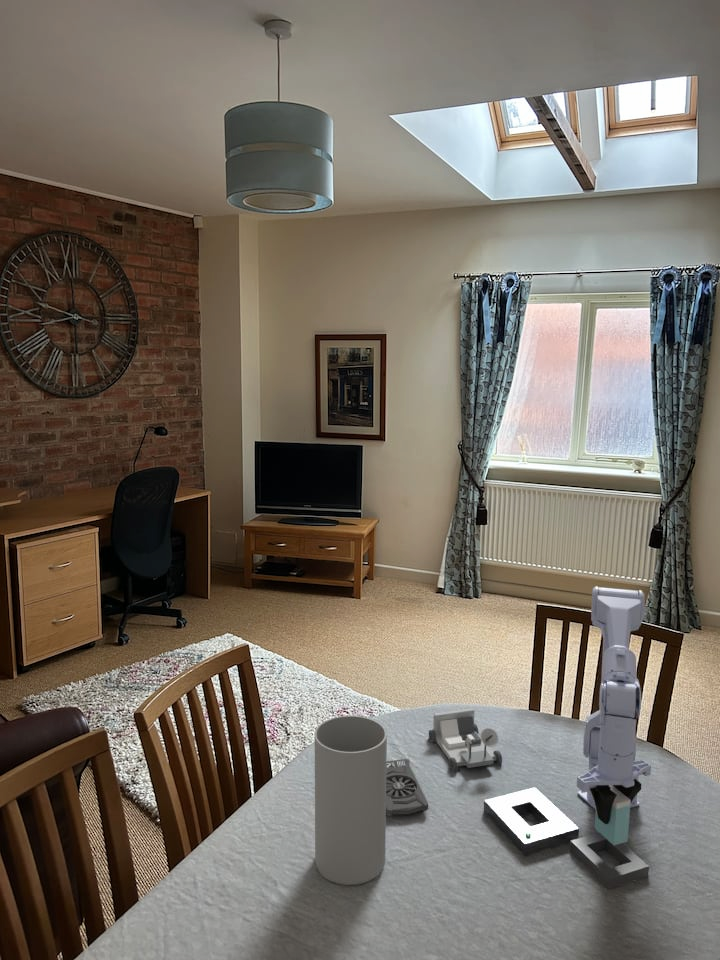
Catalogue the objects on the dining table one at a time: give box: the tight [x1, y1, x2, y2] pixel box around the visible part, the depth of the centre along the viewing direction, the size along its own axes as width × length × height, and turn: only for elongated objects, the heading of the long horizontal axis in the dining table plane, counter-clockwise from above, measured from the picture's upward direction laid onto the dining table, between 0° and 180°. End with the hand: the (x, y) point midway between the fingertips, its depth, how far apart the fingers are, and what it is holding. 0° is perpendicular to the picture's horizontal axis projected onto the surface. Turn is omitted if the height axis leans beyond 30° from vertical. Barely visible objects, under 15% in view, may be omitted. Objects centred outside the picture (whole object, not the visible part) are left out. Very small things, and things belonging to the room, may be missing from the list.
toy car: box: [428, 707, 503, 773], centre depth 164 cm, size 18×10×12 cm
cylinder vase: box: [314, 715, 388, 886], centre depth 128 cm, size 12×12×25 cm
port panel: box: [483, 787, 580, 857], centre depth 140 cm, size 12×14×3 cm
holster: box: [569, 832, 650, 890], centre depth 130 cm, size 8×10×2 cm
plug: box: [594, 785, 631, 845], centre depth 128 cm, size 3×5×8 cm, turn 22°
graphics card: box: [386, 757, 429, 817], centre depth 150 cm, size 17×4×12 cm
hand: (611, 818), depth 128 cm, fingers closed on plug, 3 cm apart
